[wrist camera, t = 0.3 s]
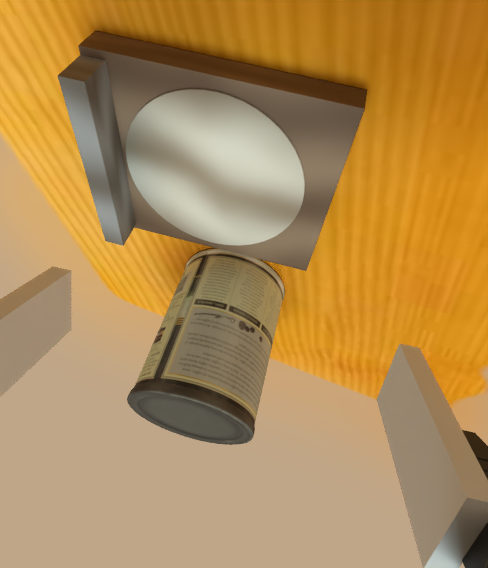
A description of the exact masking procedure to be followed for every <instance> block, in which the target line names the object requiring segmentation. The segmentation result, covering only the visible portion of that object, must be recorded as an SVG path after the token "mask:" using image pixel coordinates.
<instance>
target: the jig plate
mask: <svg viewBox="0 0 488 568" xmlns="http://www.w3.org/2000/svg"><path fill="white" fill-rule="evenodd" d="M79 50H80V54H81V55H80V56H79V57H78V58H77V59H76V60H75V61H73V62H72V63H71V64H70V65H69V66H68V67H67V68H66V69H65V70H63V71H62V72H61V73H60V74H59V75H58V79H59V82H60V86H61V89H62V92H63V96H64V99H65V103H66V106H67V110H68V113H69V117H70V120H71V124H72V127H73V130H74V134H75V137H76V141H77V144H78V148H79V151H80V155H81V158H82V161H83V165H84V168H85V172H86V175H87V179H88V182H89V186H90V189H91V193H92V196H93V199H94V203H95V206H96V210H97V213H98V217H99V220H100V224H101V227H102V231H103V234H104V237H105V241H108V242H112V243H115V244H119V245H124V244H125V242H126V240H127V238H128V237H129V235H130V233H131V232H132V230H133V228H134V227H135V228H139V229H143V230H147V231H151V232H155V233H159V234H163V235H167V236H171V237H174V238H178V239H182V240H186V241H190V242H194V243H198V244H202V245H206V246H210V247H214V248H218V249H222V250H226V251H230V252H234V253H238V254H242V255H245V256H249V257H253V258H257V259H261V260H265V261H269V262H273V263H277V264H281V265H285V266H289V267H293V268H297V269H301V270H305V271H306V270H307V267H308V264H309V262H310V259H311V256H312V253H313V251H314V248H315V245H316V242H317V239H318V237H319V234H320V231H321V228H322V226H323V223H324V220H325V217H326V214H327V212H328V209H329V206H330V203H331V201H332V198H333V195H334V192H335V190H336V187H337V184H338V181H339V178H340V176H341V173H342V170H343V167H344V165H345V162H346V159H347V156H348V154H349V151H350V148H351V145H352V142H353V140H354V137H355V134H356V131H357V129H358V126H359V123H360V120H361V118H362V115H363V112H364V109H365V102H366V94H367V90H364V89H360V88H355V87H350V86H346V85H341V84H337V83H332V82H328V81H323V80H318V79H314V78H309V77H305V76H300V75H295V74H291V73H286V72H282V71H277V70H273V69H268V68H263V67H259V66H254V65H250V64H245V63H240V62H236V61H231V60H227V59H222V58H218V57H213V56H208V55H204V54H199V53H195V52H190V51H185V50H181V49H176V48H172V47H167V46H163V45H158V44H153V43H149V42H144V41H140V40H135V39H130V38H126V37H121V36H117V35H112V34H108V33H103V32H98V31H94V32H93V33H92V34H91V35H90V36H89V37H88V38H86V39H85V40H84V41H83V42H82V43H81V44H80V45H79Z"/></svg>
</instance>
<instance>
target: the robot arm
mask: <svg viewBox="0 0 488 568" xmlns="http://www.w3.org/2000/svg"><path fill="white" fill-rule="evenodd" d="M70 330H71V271H70V270H66V269H61V268H57V267H51V268H50V269H48V270H47V271H45V272H43V273H42V274H40V275H38V276H37V277H35V278H34V279H32V280H30V281H29V282H27V283H26V284H24V285H23V286H21V287H19V288H18V289H16V290H14V291H13V292H11V293H10V294H8V295H7V296H5V297H3V298H2V299H0V397H1V396H2V395H3V394H4V393H5V392H6V391H7V390H8V389H9V388H10V387H11V386H12V385H13V384H15V383H16V382H17V381H18V380H19V379H20V378H21V377H22V376H23V375H24V374H25V373H26V372H27V371H28V370H29V369H30V368H31V367H32V366H34V365H35V364H36V363H37V362H38V361H39V360H40V359H41V358H42V357H43V356H44V355H45V354H46V353H47V352H48V351H49V350H50V349H51V348H52V347H53V346H55V345H56V344H57V343H58V342H59V341H60V340H61V339H62V338H63V337H64V336H65V335H66V334H67V333H68V332H69V331H70ZM377 402H378V405H379V409H380V412H381V416H382V420H383V424H384V427H385V431H386V434H387V438H388V442H389V446H390V449H391V452H392V456H393V460H394V464H395V467H396V471H397V475H398V478H399V482H400V485H401V489H402V493H403V497H404V500H405V504H406V508H407V511H408V515H409V518H410V522H411V526H412V529H413V533H414V537H415V540H416V544H417V548H418V551H419V555H420V559H421V562H422V566H423V568H459V567H460V565H461V564H462V562H463V564H464V566H465V568H488V446H487V445H486V444H485V443H484V442H483V441H482V440H481V439H480V438H479V437H478V436H477V435H476V434H475V433H473V432H469V431H464V430H462V429H461V428H460V425H459V423H458V421H457V420H456V418H455V416H454V414H453V412H452V410H451V408H450V406H449V404H448V402H447V400H446V398H445V396H444V394H443V392H442V391H441V389H440V387H439V385H438V383H437V381H436V379H435V377H434V375H433V373H432V371H431V369H430V367H429V365H428V363H427V361H426V360H425V358H424V356H423V354H422V352H421V350H420V348H417V347H413V346H408V345H404V344H399V346H398V349H397V351H396V354H395V356H394V359H393V361H392V364H391V366H390V368H389V371H388V373H387V376H386V378H385V381H384V383H383V386H382V388H381V390H380V393H379V395H378V398H377Z"/></svg>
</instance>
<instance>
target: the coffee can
mask: <svg viewBox="0 0 488 568" xmlns="http://www.w3.org/2000/svg"><path fill="white" fill-rule="evenodd" d="M284 294H285V291H284V285H283V282H282V281H281V279H280V277H279V276H278V274H277V273H276V272H275V271H274V270H273V269H272V268H271V267H270V266H268V265H267V264H266V263H264V262H263V261H261V260H260V259H257V258H253V257H249V256H245V255H242V254H238V253H234V252H230V251H226V250H222V249H209V250H204V251H201V252H199V253H196V254H195V255H194V256H193V257H191V258H190V260H189V261H188V262H187V264H186V267H185V271H184V273H183V276H182V278H181V280H180V283H179V285H178V287H177V289H176V292H175V294H174V296H173V299H172V301H171V303H170V306H169V308H168V310H167V313H166V315H165V317H164V320H163V322H162V324H161V327H160V329H159V331H158V334H157V336H156V338H155V341H154V343H153V345H152V347H151V350H150V352H149V354H148V357H147V359H146V361H145V364H144V366H143V368H142V371H141V373H140V376H139V378H138V380H137V382H136V385H135V387H134V388H133V389H132V390H131V392H130V394H129V395H128V398H127V401H128V404H129V405H130V407H131V408H132V409H133V410H134V411H135V412H136V413H138V414H139V415H140V416H141V417H143V418H145V419H146V420H148V421H150V422H151V423H153V424H155V425H158V426H160V427H162V428H164V429H166V430H169V431H171V432H174V433H177V434H180V435H183V436H186V437H190V438H193V439H196V440H200V441H206V442H210V443H217V444H230V445H232V444H243V443H247V442H249V441H250V440H251V439H252V438H253V435H254V430H255V428H254V424H255V420H256V415H257V410H258V406H259V402H260V397H261V393H262V388H263V383H264V379H265V375H266V370H267V366H268V361H269V357H270V353H271V348H272V344H273V339H274V335H275V331H276V326H277V321H278V317H279V312H280V308H281V303H282V300H283V298H284Z"/></svg>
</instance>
